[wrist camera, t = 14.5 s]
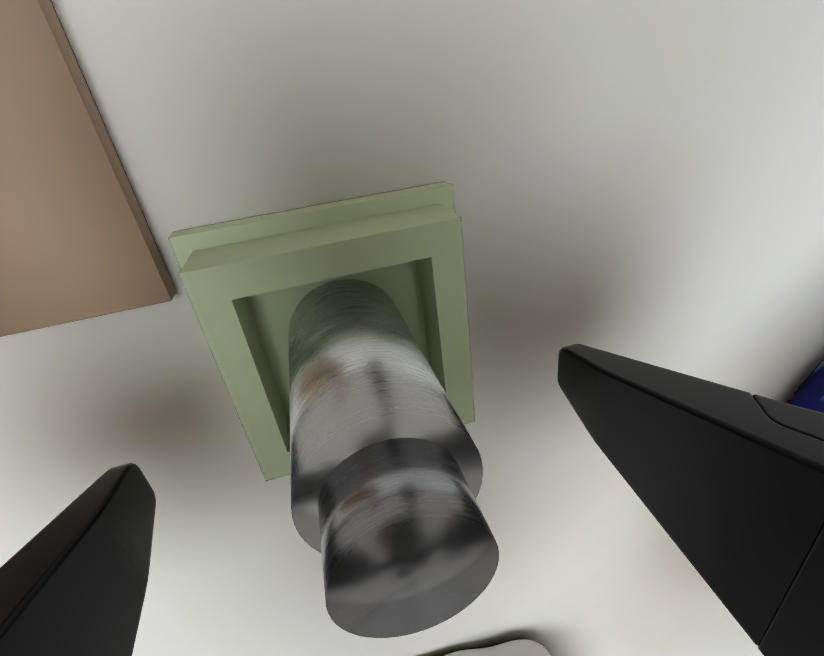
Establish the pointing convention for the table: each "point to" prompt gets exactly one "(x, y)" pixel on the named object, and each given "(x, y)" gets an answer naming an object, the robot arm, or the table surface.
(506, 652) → the rabbit
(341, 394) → the chrome stepped cylinder
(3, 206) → the socket block
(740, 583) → the robot arm
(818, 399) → the table lamp
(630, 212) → the table surface
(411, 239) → the tray
